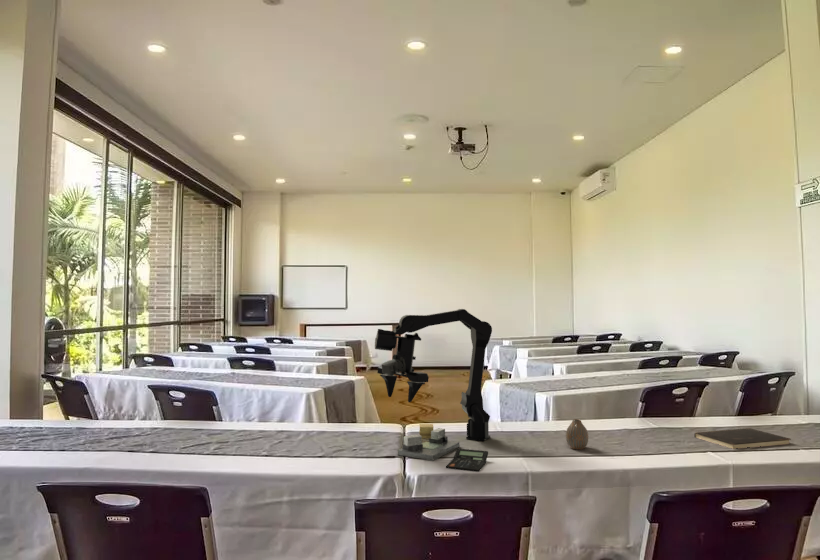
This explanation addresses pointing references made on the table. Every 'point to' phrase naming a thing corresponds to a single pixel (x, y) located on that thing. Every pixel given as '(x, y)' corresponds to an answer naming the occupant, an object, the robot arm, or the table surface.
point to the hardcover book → (742, 438)
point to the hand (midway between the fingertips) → (399, 399)
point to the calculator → (468, 460)
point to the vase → (577, 435)
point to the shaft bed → (427, 445)
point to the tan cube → (425, 430)
